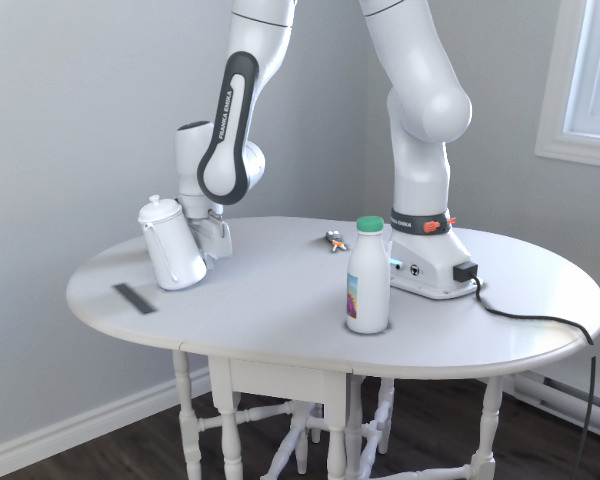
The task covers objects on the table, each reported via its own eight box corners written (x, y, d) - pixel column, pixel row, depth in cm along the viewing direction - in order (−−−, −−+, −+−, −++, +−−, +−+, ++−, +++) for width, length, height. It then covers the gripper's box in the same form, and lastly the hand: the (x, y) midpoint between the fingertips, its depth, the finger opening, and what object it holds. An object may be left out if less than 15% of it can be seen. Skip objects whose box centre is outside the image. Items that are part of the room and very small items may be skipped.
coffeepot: (149, 312, 129) (113, 224, 119) (168, 263, 150) (139, 184, 139) (200, 301, 128) (169, 211, 118) (213, 253, 149) (187, 172, 138)
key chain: (324, 236, 166) (324, 230, 165) (338, 235, 166) (338, 229, 165) (332, 252, 155) (332, 246, 154) (347, 251, 155) (347, 245, 154)
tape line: (153, 310, 128) (153, 310, 128) (144, 313, 127) (144, 312, 127) (123, 284, 141) (123, 283, 141) (114, 286, 140) (114, 285, 140)
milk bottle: (392, 319, 121) (397, 213, 110) (383, 337, 115) (387, 226, 104) (352, 315, 123) (354, 211, 113) (341, 332, 117) (342, 223, 106)
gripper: (236, 213, 128) (241, 279, 135) (196, 193, 143) (203, 252, 150) (208, 218, 125) (214, 285, 132) (170, 197, 140) (177, 258, 147)
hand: (208, 267), depth 141 cm, fingers closed, pressing on coffeepot
